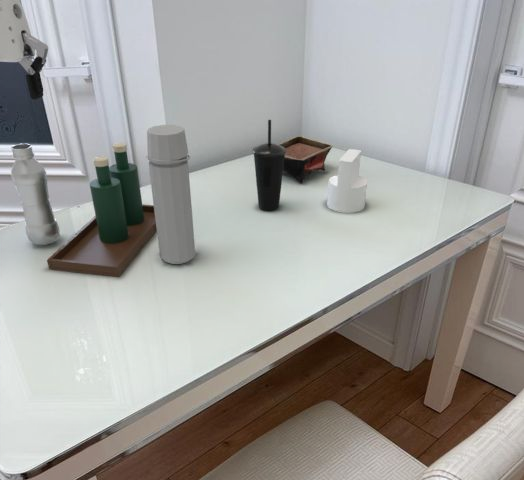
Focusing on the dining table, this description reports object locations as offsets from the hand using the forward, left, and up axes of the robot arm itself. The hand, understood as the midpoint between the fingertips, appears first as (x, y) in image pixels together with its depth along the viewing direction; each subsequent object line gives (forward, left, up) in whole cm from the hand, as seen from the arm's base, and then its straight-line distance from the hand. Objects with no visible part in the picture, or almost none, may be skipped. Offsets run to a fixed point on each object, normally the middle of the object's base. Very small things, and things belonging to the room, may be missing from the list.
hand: (13, 96), depth 99 cm
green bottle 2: (+13, +13, -28) cm, 34 cm away
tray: (+13, +4, -29) cm, 32 cm away
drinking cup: (+42, +28, -29) cm, 58 cm away
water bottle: (+29, 0, -29) cm, 41 cm away
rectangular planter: (+45, +53, -29) cm, 76 cm away
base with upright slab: (+60, +33, -29) cm, 74 cm away
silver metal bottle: (-1, 0, -29) cm, 29 cm away
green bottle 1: (+13, +4, -28) cm, 32 cm away
